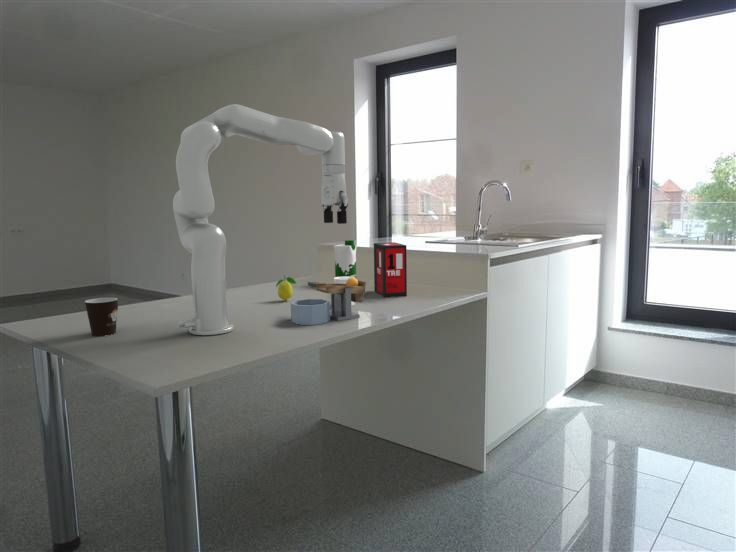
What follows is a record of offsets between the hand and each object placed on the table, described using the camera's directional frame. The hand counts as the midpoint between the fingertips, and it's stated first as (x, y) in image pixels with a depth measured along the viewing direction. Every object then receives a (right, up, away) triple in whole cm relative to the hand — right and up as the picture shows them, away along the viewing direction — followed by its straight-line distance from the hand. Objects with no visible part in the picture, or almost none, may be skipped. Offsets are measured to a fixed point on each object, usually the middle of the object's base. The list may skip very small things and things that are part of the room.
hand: (335, 223), depth 186 cm
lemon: (-20, -27, +27) cm, 43 cm away
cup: (-7, -32, -9) cm, 34 cm away
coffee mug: (-66, -35, -20) cm, 77 cm away
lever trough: (0, -25, -2) cm, 25 cm away
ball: (+6, -20, -3) cm, 21 cm away
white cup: (+3, -28, +17) cm, 33 cm away
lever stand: (+2, -31, -3) cm, 31 cm away
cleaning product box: (+20, -25, +40) cm, 51 cm away
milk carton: (+1, -22, +65) cm, 68 cm away
